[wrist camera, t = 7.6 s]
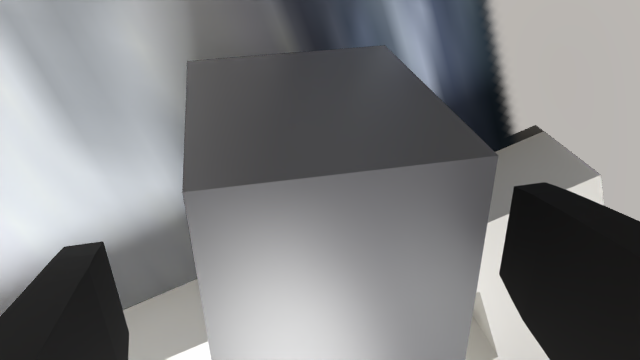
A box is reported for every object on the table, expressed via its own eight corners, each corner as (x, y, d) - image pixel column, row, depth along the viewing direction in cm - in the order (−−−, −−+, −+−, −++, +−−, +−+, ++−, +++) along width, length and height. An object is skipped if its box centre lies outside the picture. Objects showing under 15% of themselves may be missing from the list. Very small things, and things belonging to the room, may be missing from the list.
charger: (358, 203, 15) (457, 408, 10) (214, 221, 15) (227, 452, 9) (362, 23, 13) (498, 155, 7) (188, 36, 12) (182, 191, 6)
